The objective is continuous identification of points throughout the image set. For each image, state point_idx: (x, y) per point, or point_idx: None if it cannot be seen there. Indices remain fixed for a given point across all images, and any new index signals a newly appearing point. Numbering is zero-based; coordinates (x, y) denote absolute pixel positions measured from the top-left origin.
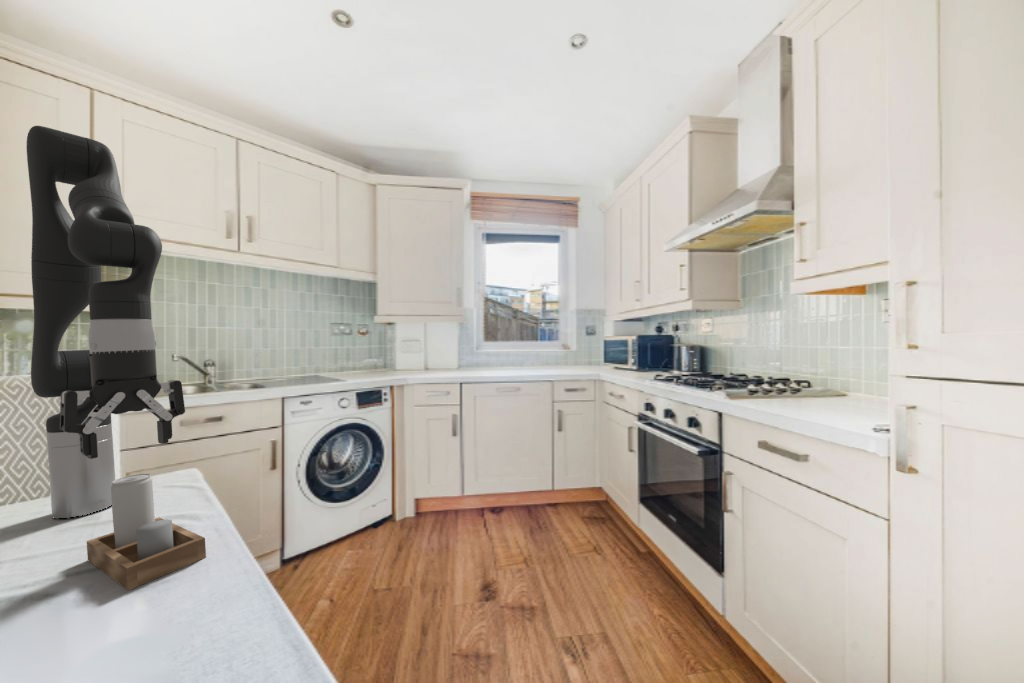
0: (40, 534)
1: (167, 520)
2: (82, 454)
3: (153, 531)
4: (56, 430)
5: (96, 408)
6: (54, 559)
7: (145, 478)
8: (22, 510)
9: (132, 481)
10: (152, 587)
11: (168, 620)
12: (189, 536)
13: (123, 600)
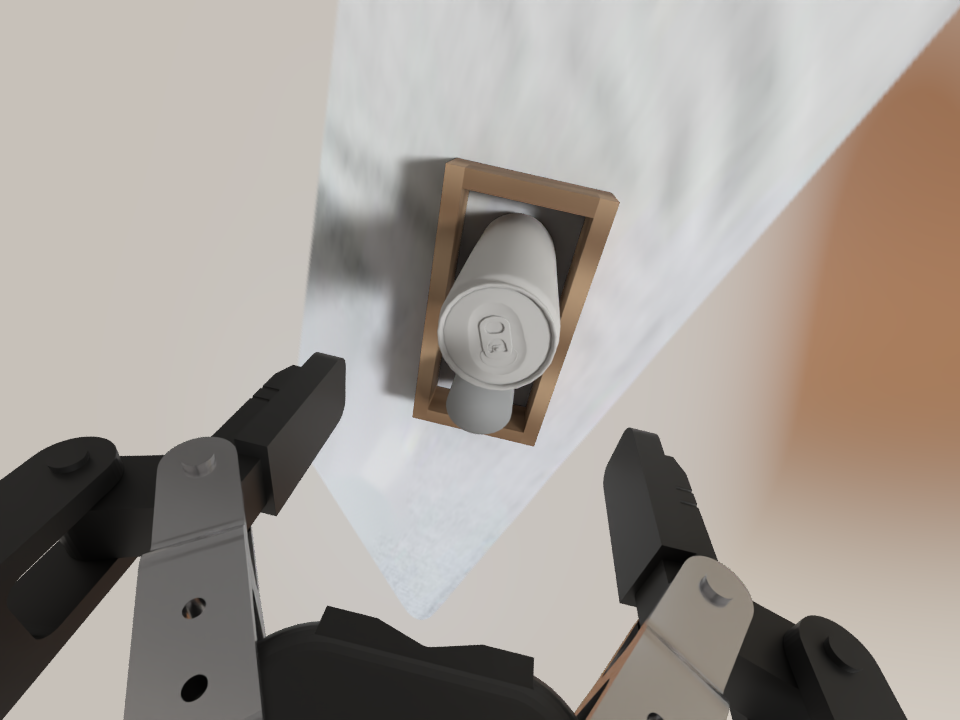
0: None
1: (506, 411)
2: (290, 368)
3: (462, 427)
4: None
5: (158, 652)
6: (427, 19)
7: (512, 387)
8: None
9: (472, 383)
10: None
11: (408, 498)
12: (531, 413)
13: (406, 411)
